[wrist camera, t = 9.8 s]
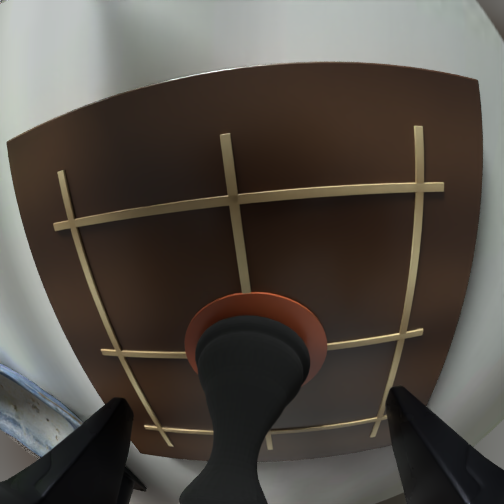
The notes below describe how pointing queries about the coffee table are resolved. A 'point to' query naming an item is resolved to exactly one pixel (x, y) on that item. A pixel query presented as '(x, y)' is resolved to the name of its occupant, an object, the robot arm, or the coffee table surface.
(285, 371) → the chess piece
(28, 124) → the coffee table surface
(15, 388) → the seashell
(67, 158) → the board
